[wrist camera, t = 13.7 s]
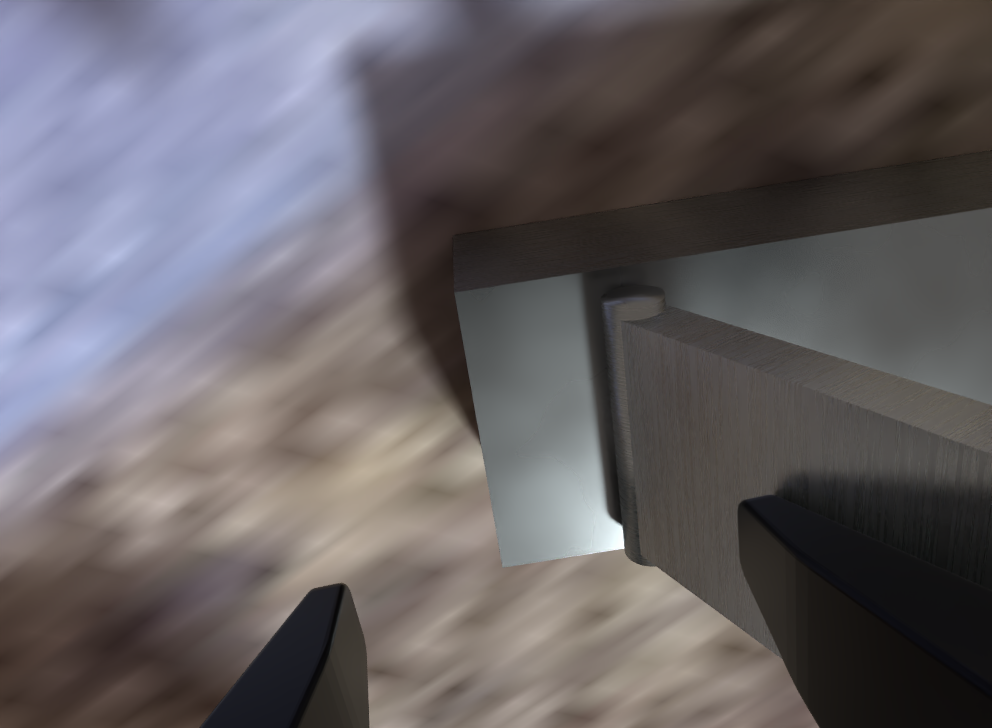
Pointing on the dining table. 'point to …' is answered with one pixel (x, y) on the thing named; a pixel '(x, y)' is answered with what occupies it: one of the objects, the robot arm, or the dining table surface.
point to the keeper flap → (781, 449)
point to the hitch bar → (711, 316)
